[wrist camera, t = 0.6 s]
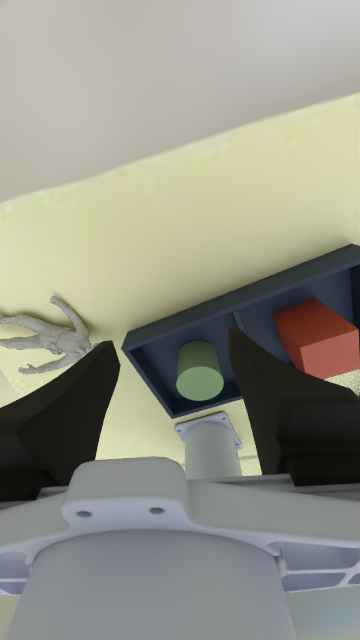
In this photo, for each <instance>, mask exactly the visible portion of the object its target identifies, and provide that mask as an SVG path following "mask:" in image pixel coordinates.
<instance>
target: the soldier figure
mask: <svg viewBox="0 0 360 640" xmlns="http://www.w3.org/2000/svg"><path fill="white" fill-rule="evenodd" d="M52 297H53V298H52ZM52 297H51V298H52V299H54V300H55V301H54V300H52V299H50V300H51V301H53V302H51V301H50V303H53V304H55V305H56V306H58V307H60V308H62V309H63V312H64V313H65V314H66V315H67V316H68V318H69V319H70V321H71V322H72V323H73V324H74V327H75V330H76V331H71V329H70V328H68V327H61V328H60V327H59V326H54V325H52V324H49V323H47V322H44V321H42V320H39V319H34V318H31V317H29V316H28V315H25V316H24V315H23V314H18V315H17V316H14V317H6V318H5V317H4V316H2V315H1V314H0V323H2V324H9V323H11V324H17V325H19V326H25V327H27V328H29V329H32V330H34V331H36V332H38V333H39V334H38V335H35V336H31V337H25V338H24V337H14V338H10V339H0V346H3V347H6V348H8V349H12V348H16V349H18V350H22V349H28V348H45V349H47V350H50V351H51V352H52V353H53V354H58V355H60V354H62V353H61V352H63V353H66V354H67V355H66V356H64V357H62V358H61V359H59V360H57V361H52V362H49V363H46V364H44V365H42V366H39V367H38V368H35V367H33V366H32V365H30V364H27V365H28V366H30V367H29V368H28V369H26V368H21V367H20V369H18V371H19V372H21V373H23V374H36V373H44V372H47V371H52V370H57V369H59V368H62V367H64V366H67V365H69V364H70V363H71V364H72V363H74V362H76V361H79V359H80V358H81V357H82V356H83V355H84V354H87V353H88V352H89V350H90V348H91V343H90V341H89V332H88V330H87V329H86V327H85V326H84V324H83V322H82V321H81V319H80V317H79V316H78V315H76V313H75V312H74V311H73V310H72V309H71V308H69V307H68V306H66V305H65V304H64V303H63V302H62V301H61V300H60V299H58V298H56V297H54V296H52ZM54 302H55V303H54ZM98 344H100V343H96V344H94V345H93V347H92V349H93V348H95V347H96V346H97V345H98ZM21 369H22V370H21Z"/></svg>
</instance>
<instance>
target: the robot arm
mask: <svg viewBox="0 0 360 640" xmlns="http://www.w3.org/2000/svg"><path fill="white" fill-rule="evenodd" d="M229 358H230V363H231V367H232V371H233V373H234V376H235V379H236V382H237V384H238V387H239V390H240V392H241V395H242V398H243V400H244V403H245V406H246V409H247V413H248V417H249V421H250V425H251V429H252V433H253V437H254V441H255V445H256V449H257V453H258V458H259V462H260V466H261V471H262V475H257V476H242V471H241V467H240V462H239V458H238V454H237V450H240V449H242V444H241V443H240V441H239V439H238V437H237V435H236V433H235V431H234V429H233V427H232V425H231V423H230V421H229V420H228V418H227V416H226V414H225V413H224V412H221V413H217V414H213V415H210V416H206V417H203V418H199V419H196V420H192V421H188V422H185V423H181V424H178V425H175V430H176V432H177V433H178V434H179V436H180V437H181V438H182V440H183V441H184V442H185V471H184V470H183V468H182V467H181V466H180V464H179V463H178V462H176V461H174V460H171V459H169V458H165V457H139V458H123V459H108V460H95V457H96V452H97V447H98V442H99V438H100V433H101V429H102V425H103V421H104V418H105V414H106V411H107V409H108V406H109V403H110V400H111V397H112V395H113V392H114V389H115V386H116V383H117V380H118V376H119V371H120V366H121V365H120V362H119V359H118V356H117V353H116V350H115V347H114V344H113V341H112V340H111V341H102V342H101V343H100V344H98V345H97V346H96V347H95V348H93V349H92V350H91V351H90V352H89V353H88V354H86V355H85V356H84V357H83V358H82V359H80V360H79V361H78V362H77V363H75V364H74V365H73V366H71V367H70V368H69V369H67V370H66V371H65V372H64V373H62V374H61V375H59V376H58V377H56V378H55V379H53V380H52V381H50V382H49V383H47V384H45V385H44V386H42V387H40V388H39V389H37V390H35V391H33V392H32V393H30V394H28V395H26V396H24V397H22V398H20V399H18V400H16V401H14V402H12V403H10V404H8V405H6V406H4V407H2V408H0V595H15V596H21V597H20V600H19V602H18V605H17V607H16V610H15V612H14V615H13V617H12V619H11V622H10V624H9V627H8V630H7V632H6V634H5V637H4V640H297V639H296V635H295V631H294V627H293V624H292V620H291V616H290V612H289V609H288V605H287V601H286V597H285V593H291V592H300V591H309V590H319V589H328V588H338V587H346V586H357V585H360V398H359V397H358V396H357V395H356V394H355V393H354V392H353V391H352V390H351V389H350V388H347V387H344V386H340V385H337V384H334V383H331V382H328V381H325V380H323V379H320V378H317V377H315V376H312V375H310V374H308V373H305V372H303V371H301V370H299V369H297V368H295V367H293V366H291V365H289V364H287V363H285V362H283V361H282V360H280V359H278V358H277V357H275V356H274V355H272V354H271V353H269V352H268V351H266V350H265V349H263V348H262V347H261V346H260V345H258V344H257V343H256V342H255V341H253V340H252V339H251V338H250V337H249V336H248V335H246V334H245V333H244V332H243V331H242V330H241V329H240V328H233V329H229Z"/></svg>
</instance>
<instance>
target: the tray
mask: <svg viewBox="0 0 360 640" xmlns="http://www.w3.org/2000/svg"><path fill="white" fill-rule="evenodd" d="M314 298H316V299H318V300H319V301H321V302H322V303H323V304H325V305H326V306H327V307H329V308H330V309H332V310H333V311H334V312H336V313H337V314H338V315H340V316H341V317H342V318H344V319H345V320H347V321H348V322H349V323H351V324H352V325H353V326H355V327H356V328H358V330H359V352H360V246H358V245H355V244H350V245H348V246H345V247H343V248H340V249H338V250H335V251H333V252H330V253H328V254H325V255H323V256H320V257H317V258H315V259H312V260H310V261H307V262H305V263H302V264H300V265H297V266H295V267H292V268H290V269H287V270H285V271H282V272H280V273H277V274H275V275H272V276H269V277H267V278H264V279H262V280H259V281H257V282H254V283H252V284H249V285H247V286H244V287H242V288H239V289H237V290H234V291H232V292H229V293H227V294H224V295H222V296H219V297H216V298H214V299H211V300H209V301H206V302H204V303H201V304H199V305H196V306H194V307H191V308H189V309H186V310H184V311H181V312H179V313H176V314H174V315H171V316H168V317H166V318H163V319H161V320H158V321H156V322H153V323H151V324H148V325H146V326H143V327H141V328H138V329H136V330H133V331H131V332H128V333H127V335H126V337H125V340H124V342H123V345H122V347H121V349H122V351H123V352H124V354H125V355H126V356H127V358H128V359H129V360H130V362H131V363H132V365H133V366H134V367H135V369H136V370H137V372H138V373H139V374H140V376H141V377H142V378H143V380H144V381H145V383H146V384H147V385H148V387H149V388H150V390H151V391H152V392H153V394H154V395H155V396H156V398H157V399H158V401H159V402H160V403H161V405H162V406H163V408H164V409H165V410H166V412H167V413H168V414H169V416H170V417H171V419H174V418H177V417H181V416H184V415H187V414H191V413H194V412H198V411H201V410H205V409H208V408H212V407H215V406H219V405H222V404H226V403H229V402H233V401H236V400H240V399H243V398H242V395H241V392H240V390H239V387H238V384H237V382H236V379H235V376H234V373H233V371H232V367H231V363H230V358H229V329H233V328H240V329H241V330H242V331H243V332H244V333H245V334H246V335H248V336H249V337H250V338H251V339H252V340H253V341H255V342H256V343H257V344H258V345H260V346H261V347H262V348H263V349H265V350H266V351H268V352H269V353H271V354H272V355H274V356H275V357H277V358H278V359H280V360H282V361H283V362H285V363H287V364H289V365H291V366H293V367H295V368H297V367H296V366H295V365H294V363H293V362H292V360H291V359H290V357H289V356H288V354H287V353H286V351H285V350H284V349H283V347H282V346H281V344H280V340H279V336H278V332H277V329H276V325H275V321H274V317H273V313H276V312H278V311H281V310H284V309H287V308H289V307H292V306H295V305H298V304H301V303H303V302H306V301H309V300H312V299H314ZM191 341H204V342H207V343H209V344H211V345H212V346H213V347H214V348H215V349H216V351H217V355H218V359H219V363H220V367H221V372H222V376H223V380H224V385H223V388H222V390H221V391H220V393H219V394H218V395H216V396H215V397H213V398H211V399H208V400H203V401H195V400H190V399H187V398H185V397H184V396H182V395H181V394H180V393H179V391H178V389H177V386H176V374H177V353H178V351H179V349H180V348H181V347H182V346H183V345H185V344H186V343H188V342H191Z"/></svg>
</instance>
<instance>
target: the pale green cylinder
mask: <svg viewBox="0 0 360 640" xmlns="http://www.w3.org/2000/svg"><path fill="white" fill-rule="evenodd" d="M223 385H224V380H223V376H222V372H221V367H220V363H219V359H218V355H217V351H216V349H215V348H214V347H213V346H212V345H211V344H209V343H207V342H204V341H191V342H188V343H186V344H185V345H183V346H182V347H181V348H180V349H179V351H178V353H177V374H176V386H177V389H178V391H179V393H180V394H181V395H182V396H184V397H185V398H187V399H190V400H195V401H203V400H208V399H211V398H213V397H215V396H216V395H218V394H219V393H220V391H221V390H222V388H223Z"/></svg>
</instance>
